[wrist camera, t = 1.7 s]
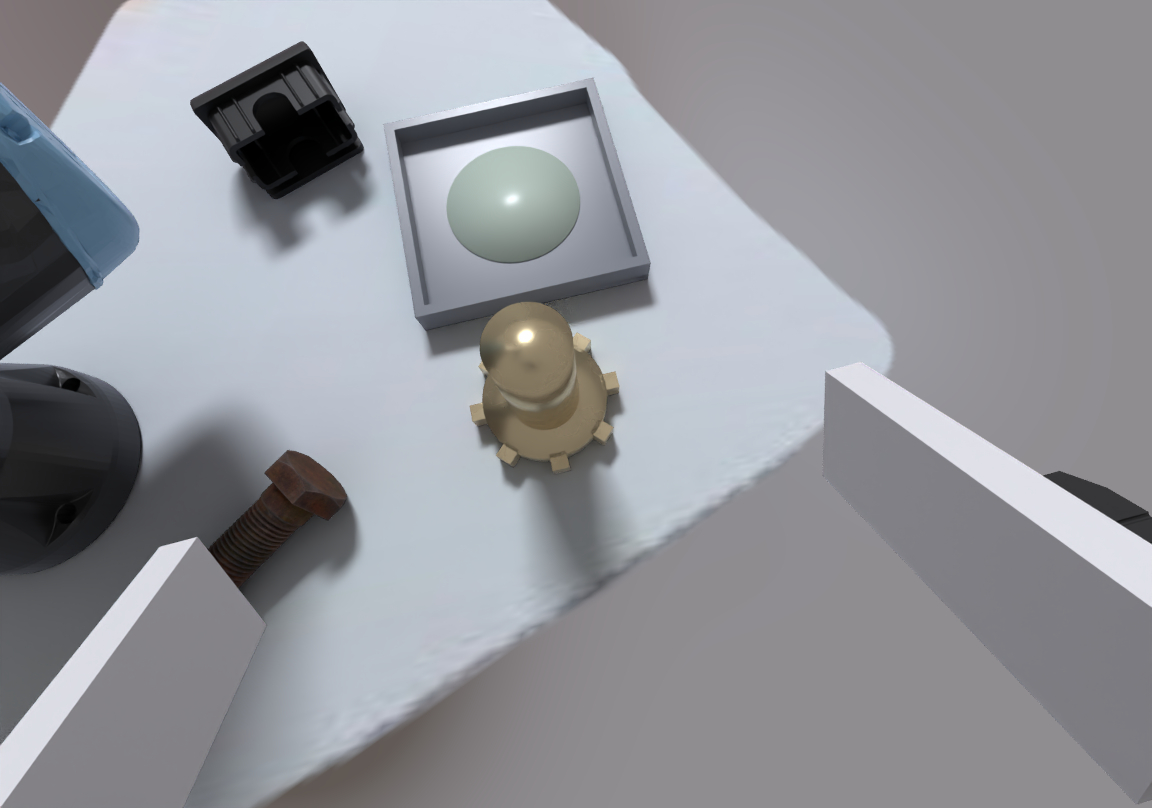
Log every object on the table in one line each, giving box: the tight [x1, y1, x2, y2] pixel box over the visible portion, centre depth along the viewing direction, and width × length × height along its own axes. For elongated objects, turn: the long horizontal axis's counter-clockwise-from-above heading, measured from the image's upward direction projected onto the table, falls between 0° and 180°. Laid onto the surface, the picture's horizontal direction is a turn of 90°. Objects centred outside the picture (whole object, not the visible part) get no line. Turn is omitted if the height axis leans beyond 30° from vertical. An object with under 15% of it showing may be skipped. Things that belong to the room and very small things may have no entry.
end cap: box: [190, 41, 363, 199], centre depth 42 cm, size 10×7×7 cm
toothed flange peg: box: [470, 302, 619, 474], centre depth 33 cm, size 11×11×12 cm
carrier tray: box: [383, 78, 651, 330], centre depth 42 cm, size 18×18×2 cm
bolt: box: [207, 450, 347, 588], centre depth 34 cm, size 6×5×15 cm
